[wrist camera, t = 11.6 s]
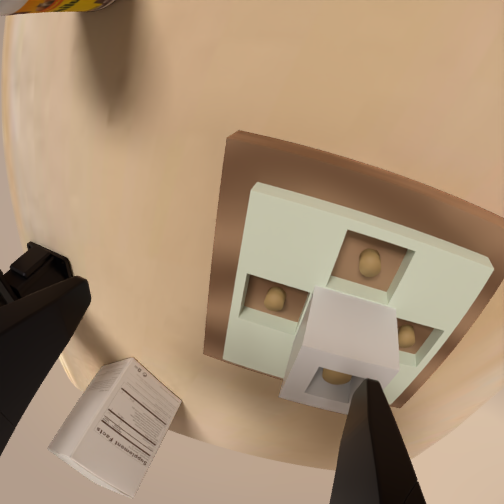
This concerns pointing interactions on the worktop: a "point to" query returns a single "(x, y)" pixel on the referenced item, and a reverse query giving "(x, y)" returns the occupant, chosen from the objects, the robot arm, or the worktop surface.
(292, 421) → the worktop surface
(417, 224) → the walnut board
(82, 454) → the supplement box
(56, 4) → the supplement bottle
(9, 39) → the worktop surface
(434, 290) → the flange plate
